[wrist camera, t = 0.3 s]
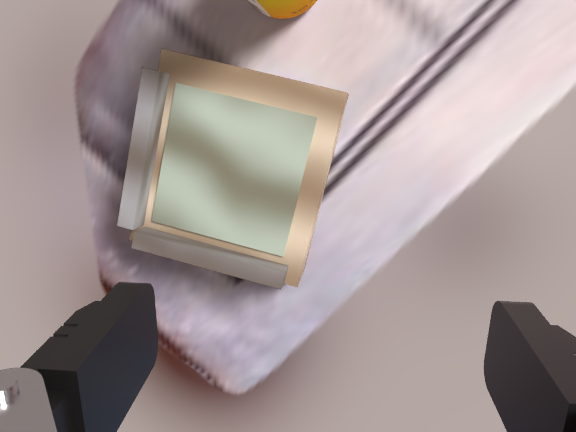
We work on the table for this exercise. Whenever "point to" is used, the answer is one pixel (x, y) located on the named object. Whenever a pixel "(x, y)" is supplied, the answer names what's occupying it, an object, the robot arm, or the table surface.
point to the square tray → (228, 167)
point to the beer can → (282, 7)
